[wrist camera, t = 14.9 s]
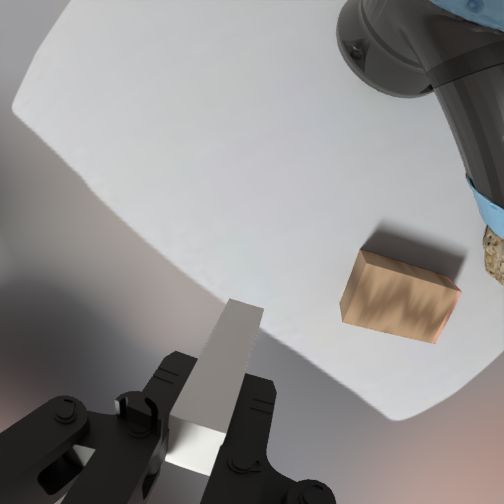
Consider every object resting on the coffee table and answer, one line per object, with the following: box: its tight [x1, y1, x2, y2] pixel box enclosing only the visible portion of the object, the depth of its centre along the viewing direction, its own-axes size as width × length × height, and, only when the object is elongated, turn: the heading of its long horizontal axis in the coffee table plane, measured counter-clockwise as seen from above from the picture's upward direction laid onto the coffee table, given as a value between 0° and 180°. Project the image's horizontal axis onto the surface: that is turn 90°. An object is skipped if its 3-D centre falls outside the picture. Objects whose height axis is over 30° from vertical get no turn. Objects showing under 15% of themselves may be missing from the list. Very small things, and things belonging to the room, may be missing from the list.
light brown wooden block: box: [340, 249, 462, 344], centre depth 36 cm, size 8×5×14 cm
